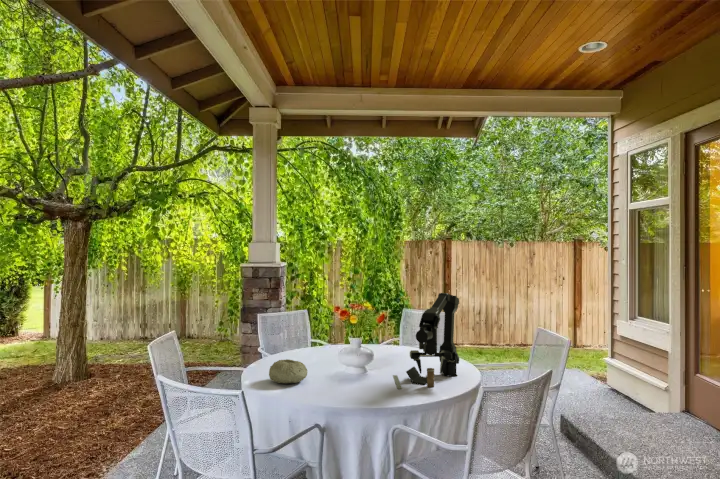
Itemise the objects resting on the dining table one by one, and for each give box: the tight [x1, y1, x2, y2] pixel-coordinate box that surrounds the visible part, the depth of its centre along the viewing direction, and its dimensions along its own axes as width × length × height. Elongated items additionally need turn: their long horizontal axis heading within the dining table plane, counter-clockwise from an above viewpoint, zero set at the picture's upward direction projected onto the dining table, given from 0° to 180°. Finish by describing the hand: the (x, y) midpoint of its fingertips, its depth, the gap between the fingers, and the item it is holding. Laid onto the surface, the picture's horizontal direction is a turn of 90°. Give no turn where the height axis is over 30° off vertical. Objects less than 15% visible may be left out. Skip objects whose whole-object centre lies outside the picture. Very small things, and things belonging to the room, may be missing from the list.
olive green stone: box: [268, 358, 309, 384], centre depth 213 cm, size 18×18×10 cm
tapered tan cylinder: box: [426, 367, 435, 389], centre depth 207 cm, size 3×3×8 cm
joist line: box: [392, 374, 403, 390], centre depth 214 cm, size 2×22×1 cm, turn 1°
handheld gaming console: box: [405, 366, 427, 386], centre depth 216 cm, size 12×7×10 cm
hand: (430, 373), depth 207 cm, fingers open, 9 cm apart
